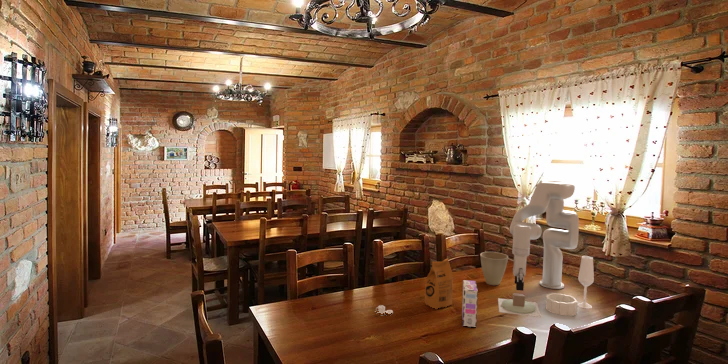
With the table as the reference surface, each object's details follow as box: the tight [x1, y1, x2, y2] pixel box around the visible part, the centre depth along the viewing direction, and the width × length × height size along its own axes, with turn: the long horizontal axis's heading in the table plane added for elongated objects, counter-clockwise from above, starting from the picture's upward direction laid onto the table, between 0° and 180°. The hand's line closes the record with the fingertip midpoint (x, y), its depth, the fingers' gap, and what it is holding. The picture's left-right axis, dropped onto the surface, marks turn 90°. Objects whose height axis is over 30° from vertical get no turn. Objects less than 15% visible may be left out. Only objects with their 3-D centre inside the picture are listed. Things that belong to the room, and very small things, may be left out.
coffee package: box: [424, 258, 454, 310], centre depth 204 cm, size 10×12×22 cm
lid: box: [502, 292, 536, 313], centre depth 201 cm, size 15×15×6 cm
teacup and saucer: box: [375, 304, 394, 315], centre depth 192 cm, size 9×8×4 cm
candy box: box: [461, 279, 479, 328], centre depth 185 cm, size 14×6×16 cm, turn 168°
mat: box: [497, 297, 542, 318], centre depth 201 cm, size 18×18×1 cm
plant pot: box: [479, 251, 509, 286], centre depth 236 cm, size 15×15×16 cm
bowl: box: [545, 292, 579, 317], centre depth 199 cm, size 13×13×6 cm
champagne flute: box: [577, 255, 595, 309], centre depth 204 cm, size 7×7×24 cm
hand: (518, 287), depth 200 cm, fingers open, 9 cm apart
